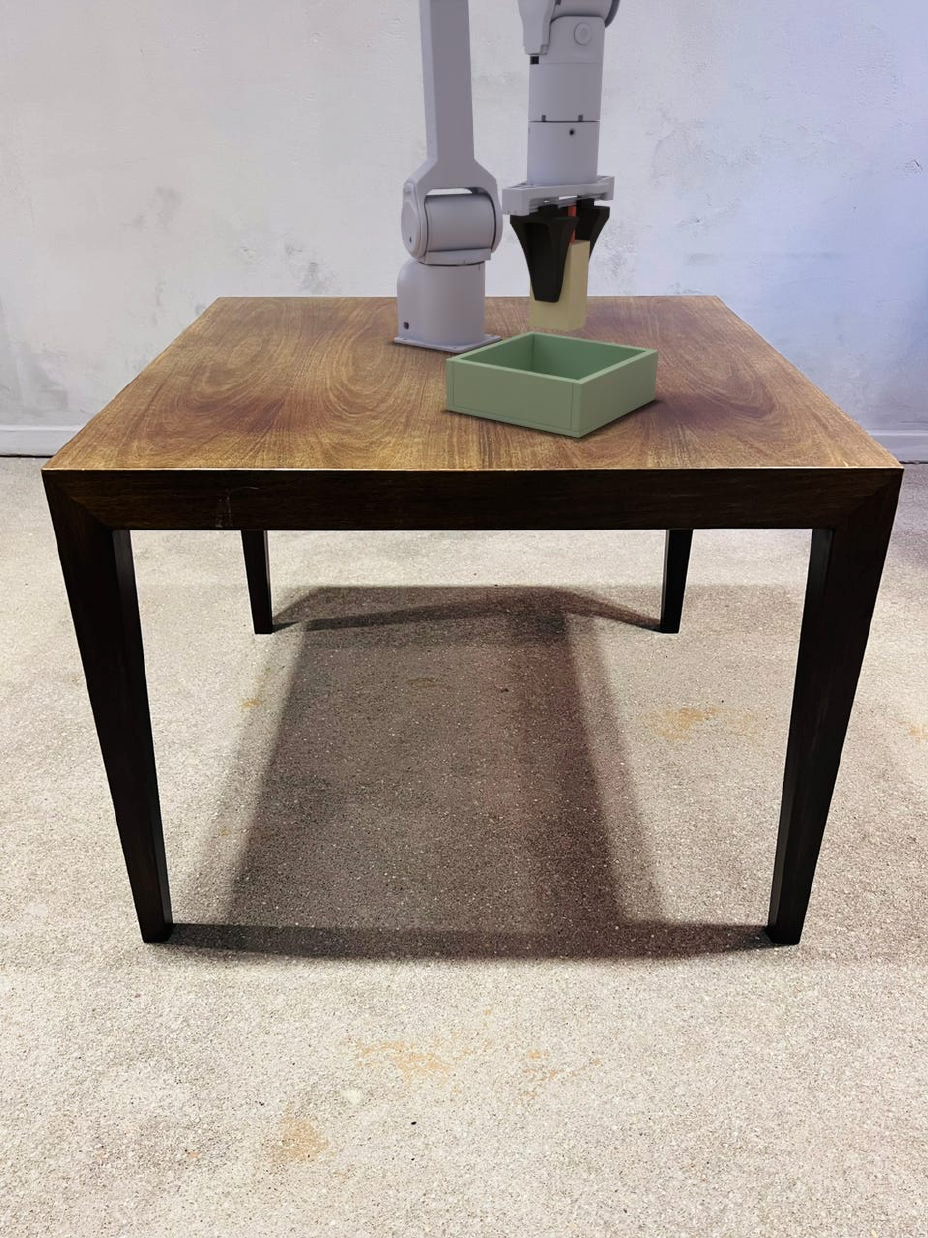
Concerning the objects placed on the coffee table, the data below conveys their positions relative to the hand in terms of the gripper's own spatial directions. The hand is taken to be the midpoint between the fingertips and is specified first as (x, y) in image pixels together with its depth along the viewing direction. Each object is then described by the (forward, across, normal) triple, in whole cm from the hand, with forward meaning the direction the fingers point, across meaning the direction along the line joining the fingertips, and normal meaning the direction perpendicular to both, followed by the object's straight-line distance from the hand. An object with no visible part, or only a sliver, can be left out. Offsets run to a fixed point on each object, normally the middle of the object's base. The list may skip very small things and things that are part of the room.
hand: (557, 297), depth 85 cm
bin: (+9, -1, 0) cm, 9 cm away
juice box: (+2, 0, 0) cm, 2 cm away
